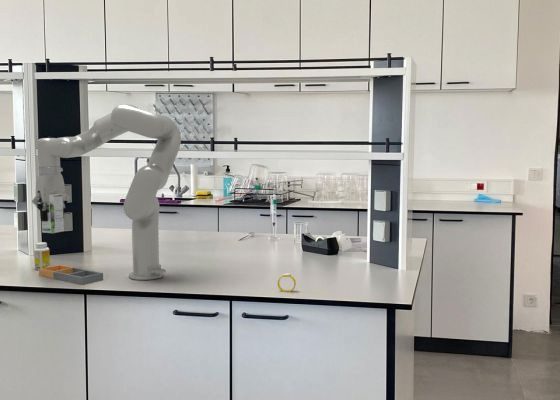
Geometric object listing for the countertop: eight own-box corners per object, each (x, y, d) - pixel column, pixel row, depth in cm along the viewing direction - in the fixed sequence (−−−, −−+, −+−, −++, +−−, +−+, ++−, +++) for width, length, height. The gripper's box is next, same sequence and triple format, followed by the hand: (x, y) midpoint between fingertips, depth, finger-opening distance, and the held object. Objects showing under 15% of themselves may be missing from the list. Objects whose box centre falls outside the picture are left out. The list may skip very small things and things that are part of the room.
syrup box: (41, 232, 229) (39, 193, 227) (53, 230, 234) (51, 192, 233) (53, 233, 226) (50, 194, 225) (65, 231, 232) (62, 192, 230)
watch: (277, 292, 206) (276, 275, 206) (279, 290, 209) (277, 273, 208) (295, 292, 205) (294, 274, 204) (296, 290, 208) (295, 272, 207)
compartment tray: (103, 279, 224) (102, 273, 224) (82, 284, 217) (81, 277, 217) (60, 270, 239) (59, 264, 239) (39, 275, 232) (38, 268, 232)
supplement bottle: (51, 267, 246) (50, 241, 245) (48, 270, 241) (46, 244, 240) (37, 267, 246) (36, 242, 245) (33, 270, 240) (31, 244, 239)
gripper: (63, 170, 237) (66, 216, 239) (22, 173, 223) (25, 222, 225) (75, 170, 233) (78, 217, 235) (35, 173, 219) (38, 223, 221)
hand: (52, 219), depth 230 cm, fingers closed on syrup box, 6 cm apart
